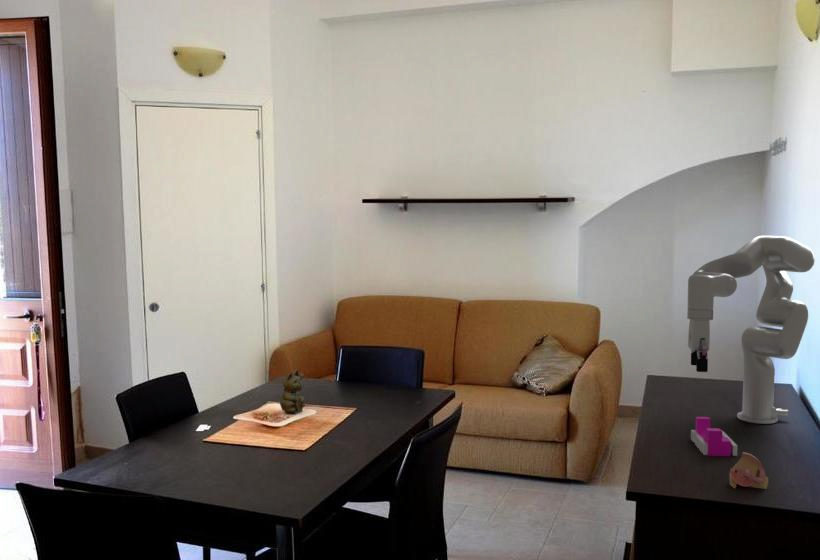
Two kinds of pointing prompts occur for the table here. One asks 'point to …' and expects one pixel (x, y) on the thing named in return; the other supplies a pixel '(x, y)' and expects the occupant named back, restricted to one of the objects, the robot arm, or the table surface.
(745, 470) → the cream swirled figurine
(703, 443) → the guide channel
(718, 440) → the toy block
